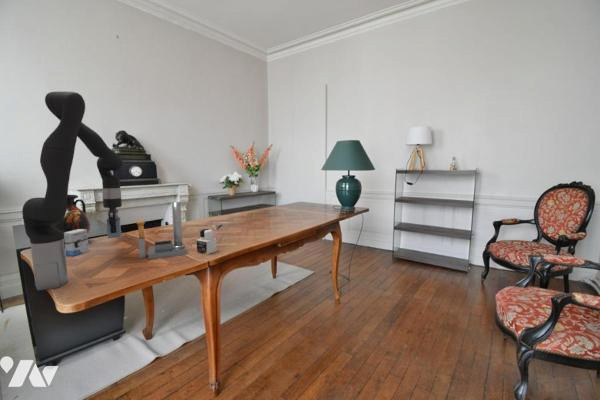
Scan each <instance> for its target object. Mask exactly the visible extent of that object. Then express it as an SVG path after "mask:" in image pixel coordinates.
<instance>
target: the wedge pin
mask: <svg viewBox="0 0 600 400" xmlns="http://www.w3.org/2000/svg"><path fill="white" fill-rule="evenodd" d="M145 224H146V221H145V220H137V221H136V225H137V228H138V229H137V231H138V240H139V239H140V238H144V236H145V226H144V225H145ZM145 238H146V237H145ZM145 238H144V240H145V241H146V239H145Z"/></svg>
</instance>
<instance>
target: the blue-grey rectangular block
mask: <svg viewBox="0 0 600 400" xmlns="http://www.w3.org/2000/svg"><path fill="white" fill-rule="evenodd" d="M111 222H114V220H112V221H111ZM121 227H122V225H121V217H118V218H117V220H116V233H111V228H110V225H109V220H108V218H106V228H107V229H106V230H107V232H106V233H107V239H114V238H115V239H116V238H121V236H122V230H121V229H122V228H121Z"/></svg>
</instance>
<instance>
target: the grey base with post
mask: <svg viewBox="0 0 600 400" xmlns="http://www.w3.org/2000/svg"><path fill="white" fill-rule="evenodd" d="M171 207H172V208H171V210H172V227H173V228H172V229H173V230H172V231H173V242H172V239H168V240H160V241H154V246H153V245H151V246H148V248H147V251H148V253H147V252H146V239H145V240H144V238H146V237H145V235H144V238H140V239H139V238H138V249H139V250H138V252H139V259H143V258H144V259H145V258H146V255H148V260H154V259H155V260H157V259H163V258H169V257H170V256H171V257H177V256H184V255H187V248H186V244H185V243H184V242H183V228H182V226H183V225H182V224H183V223H182V209H181V207H182V205H181V201H175V202H172V203H171ZM162 257H163V258H162ZM146 259H147V258H146Z"/></svg>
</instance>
